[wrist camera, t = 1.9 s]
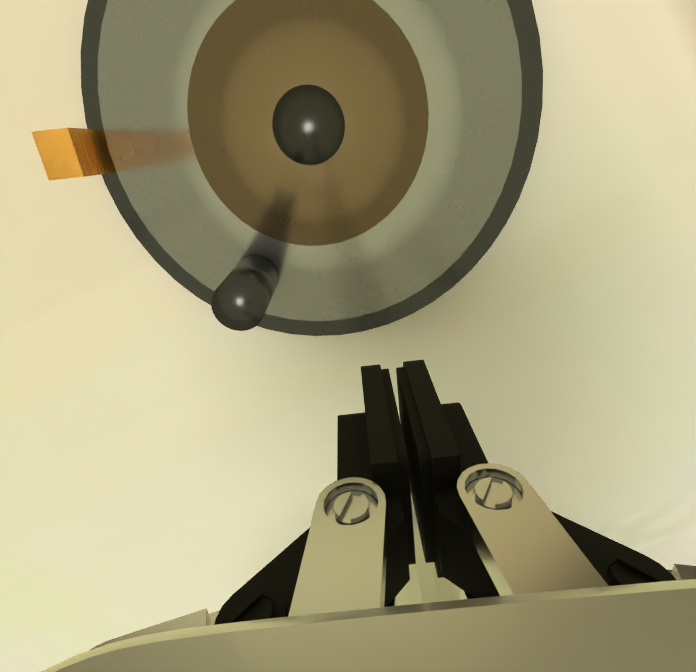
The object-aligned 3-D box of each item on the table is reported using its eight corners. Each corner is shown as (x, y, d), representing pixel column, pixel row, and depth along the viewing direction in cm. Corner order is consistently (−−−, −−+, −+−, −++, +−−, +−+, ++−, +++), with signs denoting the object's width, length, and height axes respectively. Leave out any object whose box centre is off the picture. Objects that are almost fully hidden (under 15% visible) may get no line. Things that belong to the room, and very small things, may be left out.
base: (601, 182, 25) (667, 192, 20) (284, 389, 31) (273, 438, 26) (373, -334, 17) (388, -536, 12) (-5, 72, 23) (-106, 50, 17)
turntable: (569, 176, 24) (651, 188, 17) (286, 365, 28) (271, 428, 22) (363, -265, 17) (376, -504, 11) (32, 77, 21) (-94, 51, 15)
